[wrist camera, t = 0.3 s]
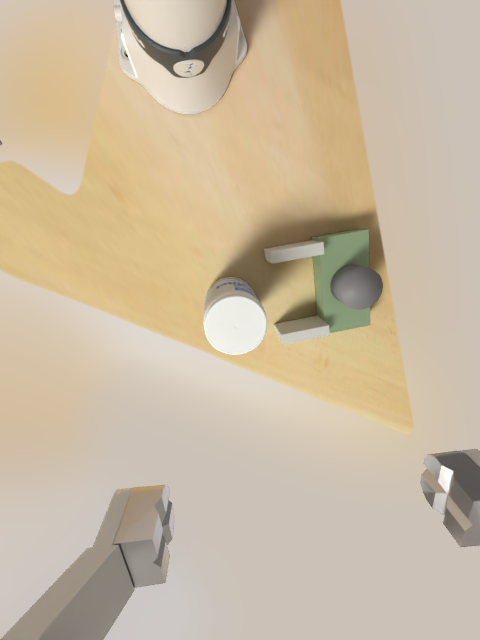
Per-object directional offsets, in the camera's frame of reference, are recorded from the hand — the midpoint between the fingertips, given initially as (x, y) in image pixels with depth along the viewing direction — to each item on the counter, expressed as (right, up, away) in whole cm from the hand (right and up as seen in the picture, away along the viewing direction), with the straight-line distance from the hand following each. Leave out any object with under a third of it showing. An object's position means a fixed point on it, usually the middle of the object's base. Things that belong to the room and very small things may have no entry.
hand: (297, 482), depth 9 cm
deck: (+13, +12, +47) cm, 50 cm away
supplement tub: (-4, +9, +46) cm, 47 cm away
